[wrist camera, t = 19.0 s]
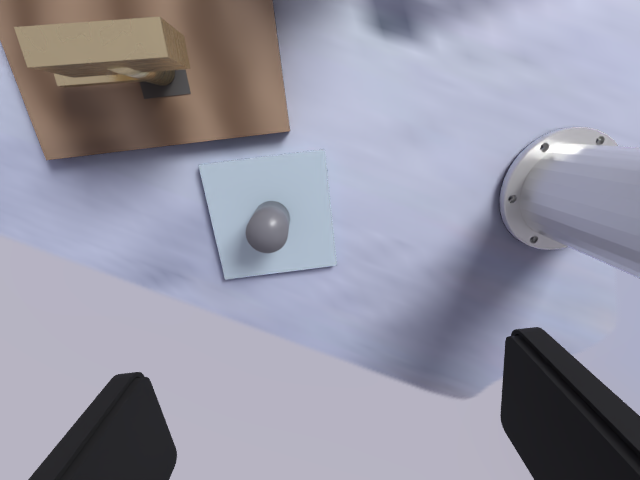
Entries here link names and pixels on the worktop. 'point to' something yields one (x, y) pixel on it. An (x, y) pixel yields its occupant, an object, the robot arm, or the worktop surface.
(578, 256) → the worktop surface
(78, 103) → the board
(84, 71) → the key
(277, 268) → the lid
